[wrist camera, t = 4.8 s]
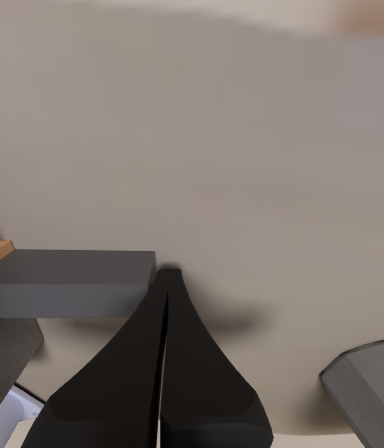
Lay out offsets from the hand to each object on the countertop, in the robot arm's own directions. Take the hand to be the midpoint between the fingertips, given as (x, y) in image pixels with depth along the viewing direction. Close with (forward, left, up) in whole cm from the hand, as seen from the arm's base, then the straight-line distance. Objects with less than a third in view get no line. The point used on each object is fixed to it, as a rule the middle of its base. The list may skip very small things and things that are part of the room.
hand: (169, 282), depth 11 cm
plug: (-6, +3, -1) cm, 7 cm away
